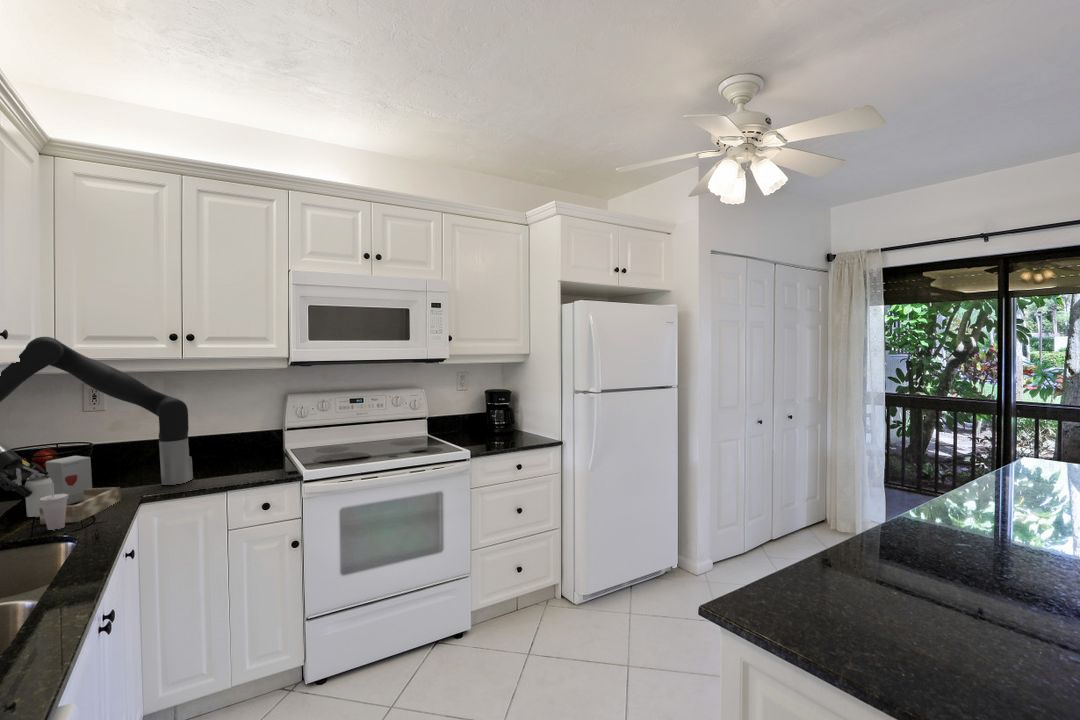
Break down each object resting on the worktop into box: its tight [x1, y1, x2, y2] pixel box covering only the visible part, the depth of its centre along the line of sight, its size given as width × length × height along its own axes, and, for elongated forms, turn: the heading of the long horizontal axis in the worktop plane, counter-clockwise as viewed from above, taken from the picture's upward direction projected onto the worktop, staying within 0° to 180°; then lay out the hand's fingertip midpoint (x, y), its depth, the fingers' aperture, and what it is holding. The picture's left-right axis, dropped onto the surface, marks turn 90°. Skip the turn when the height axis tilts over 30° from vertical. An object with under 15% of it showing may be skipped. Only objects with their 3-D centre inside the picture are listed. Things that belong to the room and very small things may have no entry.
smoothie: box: [39, 483, 69, 531], centre depth 155 cm, size 6×6×14 cm
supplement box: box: [45, 455, 93, 506], centre depth 180 cm, size 9×9×15 cm
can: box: [24, 476, 52, 518], centre depth 167 cm, size 6×6×12 cm
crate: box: [39, 486, 122, 525], centre depth 169 cm, size 20×10×5 cm, turn 8°
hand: (40, 491), depth 167 cm, fingers open, 8 cm apart
